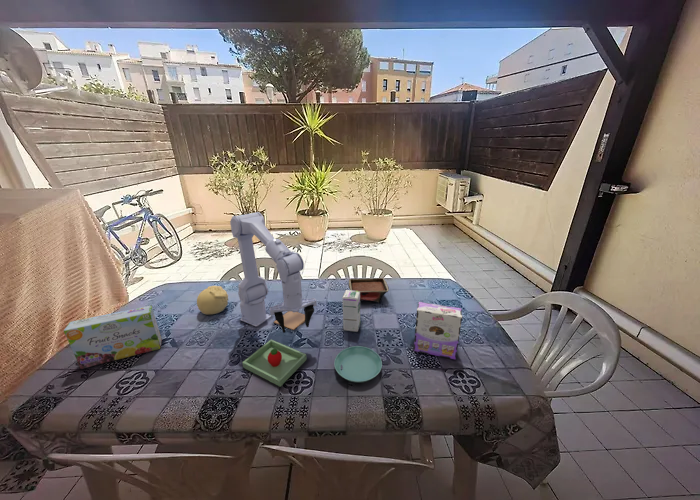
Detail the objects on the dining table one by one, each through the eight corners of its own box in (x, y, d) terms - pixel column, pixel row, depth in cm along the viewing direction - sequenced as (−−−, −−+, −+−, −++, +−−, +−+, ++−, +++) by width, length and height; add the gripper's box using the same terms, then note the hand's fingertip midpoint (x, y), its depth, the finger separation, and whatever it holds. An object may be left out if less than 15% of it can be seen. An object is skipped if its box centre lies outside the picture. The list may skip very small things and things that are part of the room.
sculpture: (232, 311, 115) (228, 289, 111) (201, 321, 108) (195, 297, 105) (227, 300, 124) (223, 279, 120) (197, 308, 117) (192, 286, 114)
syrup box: (358, 332, 102) (358, 298, 97) (342, 330, 103) (342, 296, 98) (360, 323, 107) (360, 290, 102) (345, 321, 108) (345, 289, 103)
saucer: (336, 351, 92) (336, 345, 91) (379, 352, 91) (380, 346, 90) (332, 387, 78) (332, 380, 77) (383, 388, 78) (384, 381, 77)
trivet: (273, 323, 107) (273, 321, 107) (290, 311, 115) (290, 309, 115) (293, 331, 102) (293, 329, 102) (309, 317, 111) (309, 316, 110)
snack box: (79, 371, 84) (61, 330, 79) (86, 359, 89) (69, 320, 84) (160, 349, 93) (149, 311, 88) (162, 339, 98) (152, 303, 93)
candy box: (455, 348, 93) (462, 307, 87) (455, 360, 88) (463, 317, 82) (414, 340, 97) (418, 300, 91) (412, 351, 92) (416, 309, 86)
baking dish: (386, 310, 119) (390, 289, 116) (346, 304, 118) (349, 283, 116) (382, 295, 133) (386, 277, 130) (346, 290, 132) (349, 271, 129)
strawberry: (265, 365, 86) (263, 352, 84) (275, 356, 89) (273, 344, 87) (275, 370, 84) (274, 357, 82) (285, 361, 87) (284, 349, 85)
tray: (243, 368, 85) (242, 362, 84) (271, 345, 95) (270, 339, 94) (280, 388, 78) (279, 381, 77) (306, 360, 88) (306, 354, 87)
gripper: (270, 302, 78) (274, 341, 83) (318, 293, 83) (320, 329, 88) (267, 291, 84) (271, 328, 89) (312, 283, 90) (314, 318, 94)
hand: (295, 328), depth 89 cm, fingers open, 7 cm apart
